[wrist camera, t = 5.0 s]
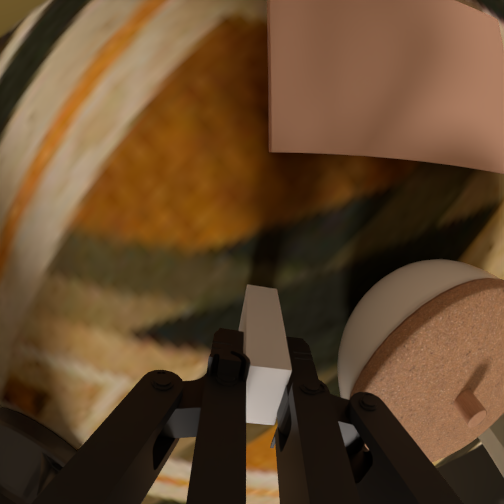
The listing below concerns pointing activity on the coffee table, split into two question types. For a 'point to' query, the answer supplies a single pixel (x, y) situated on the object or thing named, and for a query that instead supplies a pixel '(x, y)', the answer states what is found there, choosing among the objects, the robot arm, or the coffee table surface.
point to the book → (386, 80)
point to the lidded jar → (430, 351)
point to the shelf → (495, 442)
